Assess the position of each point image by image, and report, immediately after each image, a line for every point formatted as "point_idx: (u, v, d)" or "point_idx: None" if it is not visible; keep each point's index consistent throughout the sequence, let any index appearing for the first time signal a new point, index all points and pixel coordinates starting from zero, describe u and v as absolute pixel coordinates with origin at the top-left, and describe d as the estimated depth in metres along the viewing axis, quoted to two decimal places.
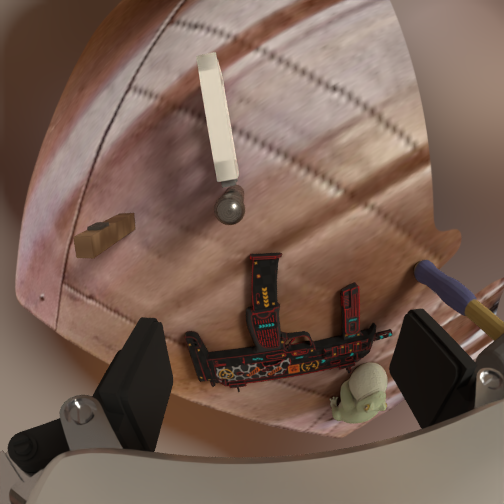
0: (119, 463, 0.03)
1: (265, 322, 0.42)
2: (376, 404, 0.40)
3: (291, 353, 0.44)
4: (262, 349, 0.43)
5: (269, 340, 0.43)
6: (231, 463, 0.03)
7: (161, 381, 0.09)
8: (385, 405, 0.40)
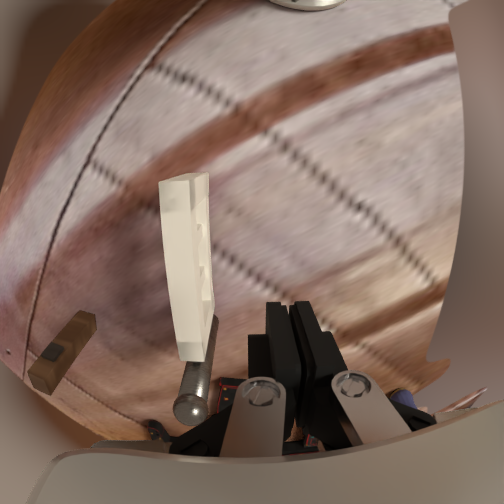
0: (119, 463, 0.03)
1: None
2: None
3: None
4: None
5: None
6: (231, 463, 0.03)
7: None
8: None
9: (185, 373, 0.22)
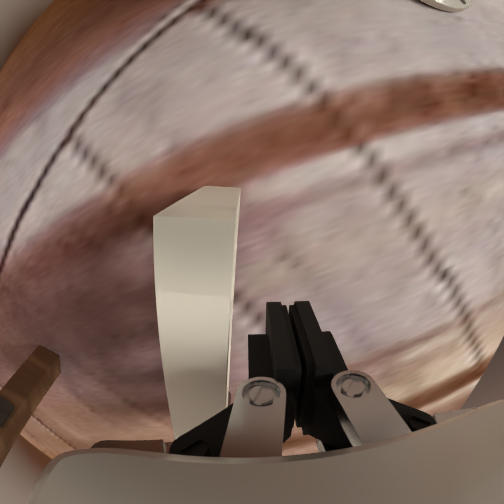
0: (119, 463, 0.03)
1: None
2: None
3: None
4: None
5: None
6: (231, 462, 0.03)
7: None
8: None
9: None
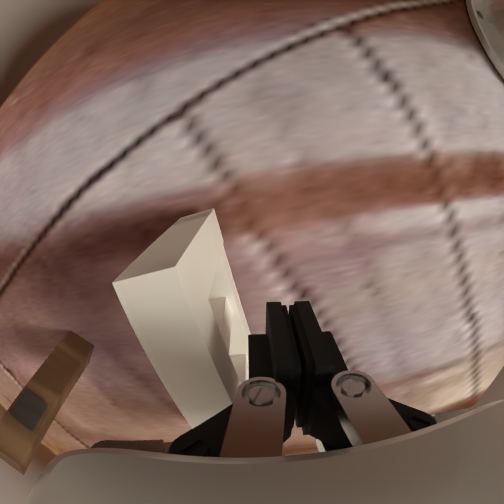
0: (119, 463, 0.03)
1: None
2: None
3: None
4: None
5: None
6: (231, 463, 0.03)
7: None
8: None
9: None
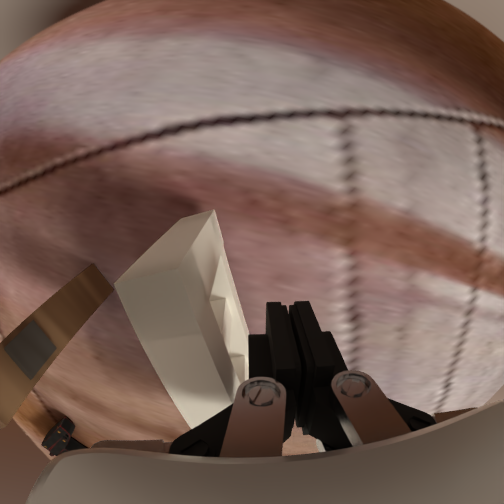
0: (119, 463, 0.03)
1: None
2: None
3: None
4: None
5: None
6: (231, 463, 0.03)
7: None
8: None
9: None
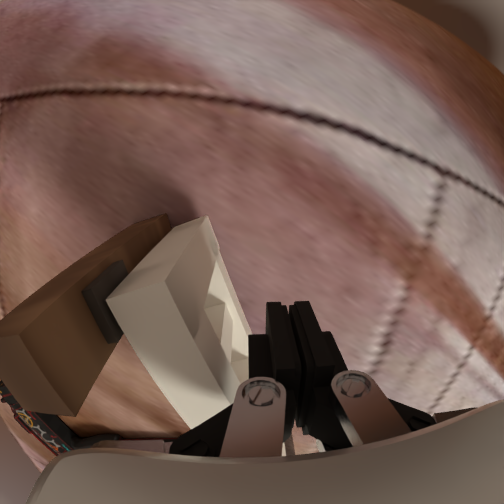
0: (119, 463, 0.03)
1: None
2: None
3: None
4: None
5: None
6: (231, 462, 0.03)
7: None
8: None
9: None
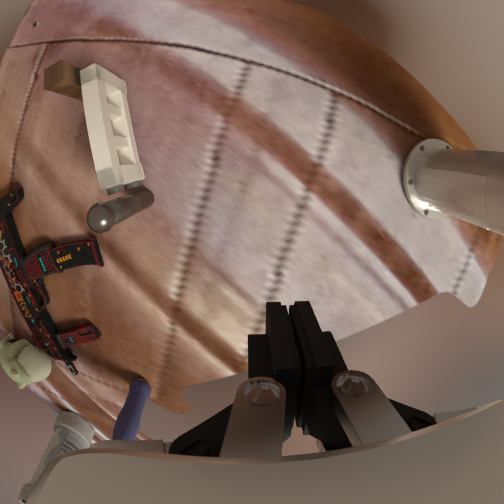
0: (119, 463, 0.03)
1: (44, 263, 0.35)
2: (19, 379, 0.34)
3: (28, 291, 0.36)
4: (24, 264, 0.35)
5: (32, 269, 0.35)
6: (231, 463, 0.03)
7: None
8: (22, 387, 0.35)
9: (119, 200, 0.26)
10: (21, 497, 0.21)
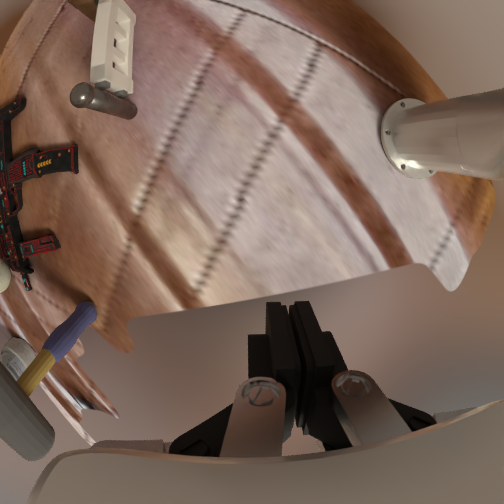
0: (119, 463, 0.03)
1: (26, 166, 0.33)
2: None
3: (5, 195, 0.34)
4: (8, 168, 0.33)
5: (14, 173, 0.33)
6: (231, 463, 0.03)
7: None
8: None
9: (103, 91, 0.24)
10: None
